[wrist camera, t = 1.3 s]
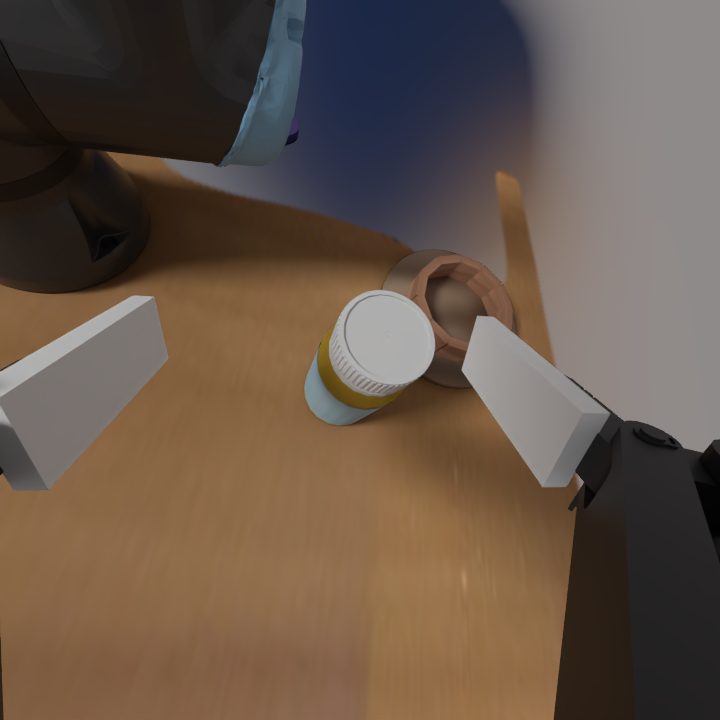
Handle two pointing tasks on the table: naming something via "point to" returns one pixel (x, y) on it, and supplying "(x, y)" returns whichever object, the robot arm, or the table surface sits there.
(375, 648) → the table surface
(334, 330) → the bottle
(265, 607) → the table surface
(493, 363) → the robot arm
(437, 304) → the bottle holder
